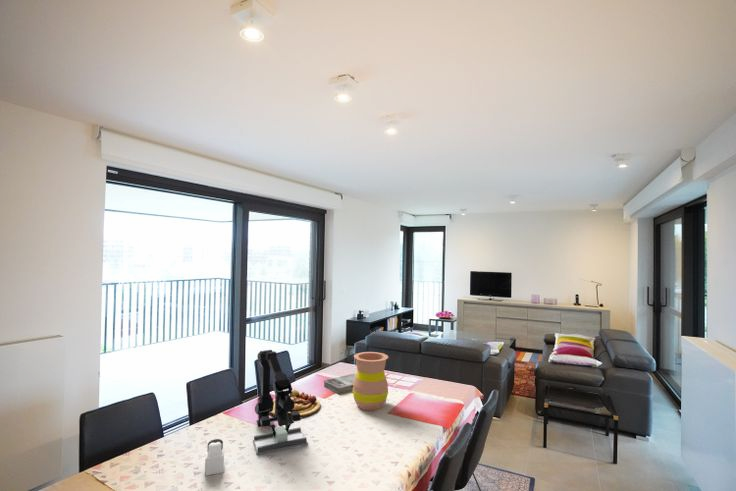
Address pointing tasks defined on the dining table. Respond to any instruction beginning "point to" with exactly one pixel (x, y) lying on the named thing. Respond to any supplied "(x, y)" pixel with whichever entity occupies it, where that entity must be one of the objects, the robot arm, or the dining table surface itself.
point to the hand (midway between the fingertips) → (280, 436)
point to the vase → (370, 381)
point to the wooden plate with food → (302, 404)
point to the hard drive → (340, 384)
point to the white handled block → (214, 457)
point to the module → (280, 434)
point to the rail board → (268, 444)
